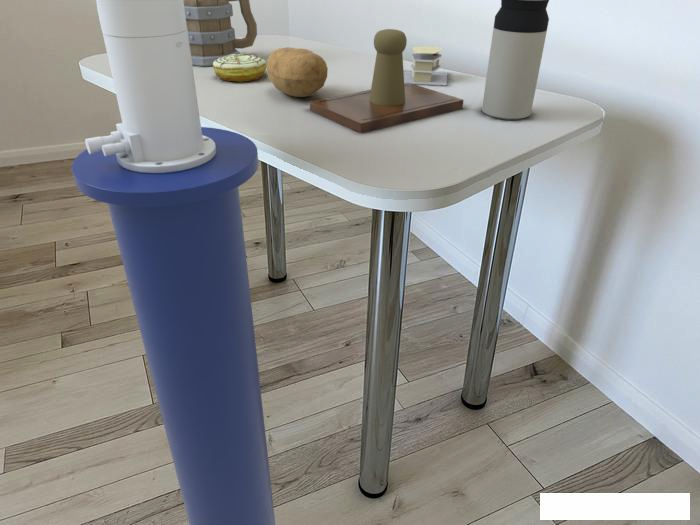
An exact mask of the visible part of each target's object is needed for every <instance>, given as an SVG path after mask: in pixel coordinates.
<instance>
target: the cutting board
mask: <svg viewBox="0 0 700 525" xmlns="http://www.w3.org/2000/svg"><path fill="white" fill-rule="evenodd" d="M404 87H405V103H403V104H400V105H394V106H384V105H377V104H374V103H371V102H370V100H369V99H370V93H371V89H366V90H362V91H357V92H352V93H347V94H341V95H337V96H331V97H326V98H321V99H315V100H310V101H309V111H310V112H313V113H315V114H317V115H319V116H322V117H324V118H326V119H328V120H330V121H333V122H335V123H338V124H340V125H342V126H344V127H347V128H348V129H351V130H353V131H354V132H358V133H360V134H362V133H367V132H371V131H375V130H379V129H383V128H387V127H391V126H397V125H400V124H404V123H408V122H412V121H416V120H420V119H421V120H422V119H424V118H429V117H433V116H436V115H441V114H445V113H450V112H454V111H457V110H463V108H464V100H465V99H463V98H459V97H457V96H453V95H449V94H446V93H443V92H440V91H437V90H433V89H430V88H428V87H424V86H421V85H419V84H412V83H409V82H408V83H404Z"/></svg>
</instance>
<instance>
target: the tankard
mask: <svg viewBox="0 0 700 525" xmlns="http://www.w3.org/2000/svg"><path fill="white" fill-rule="evenodd" d="M183 1H184V9H185V17H186V24H187V30H188V38H189V45H190V52H191V59H192V66H195V67H196V66H197V67H213V62H214V61H215V60H216V59H218V58H221V57H224V56H227V55H231V54H241V52H240V51H239V50H238V49H242V50H243V49H246V48H250V47H253V45H254V43H255V40H256V38H257V36H258V25H257V22H256V18H255V17H254V14H253V12H252V8H251V3H250V0H183ZM231 2H239V9H240V13H241V15H242V18H243V21H244V22H245V25H246V35H245V37H243V38H236V30H235V28H234V27H232V21H231V18H232V17H233V16H234V12H233V4H232V3H231Z"/></svg>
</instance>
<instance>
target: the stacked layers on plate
mask: <svg viewBox="0 0 700 525" xmlns="http://www.w3.org/2000/svg"><path fill="white" fill-rule="evenodd" d="M442 50H443V47H440V46H414V47H412V51H413V53H412V54H411V58H412V64H411V65H410V67H411V70H412V71H408V70H407V71H405V70H404V83H408V82H409V83H412V84H415V85H428V86H447V84H448V72H437V71H438V70H440V69H441V64H440V59H441V58H442V54H440V53H439V52H440V51H442Z"/></svg>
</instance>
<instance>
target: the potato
mask: <svg viewBox="0 0 700 525" xmlns="http://www.w3.org/2000/svg"><path fill="white" fill-rule="evenodd" d="M266 66H267V67H266V74H267V78H268V80H269V81H270V82H271V83H272V85H273V86H274V88H276V89H277V90H278V91H279V92H281V93H283V94H287V95H288V96H291V97H293V98H306V97H310V96H314V95H315V94H316V93H318V91H320V90H321V89H322V88H323V87H324V86H325V83H326V82H327V79H328V72H329V70H328V69H329V68H328V64H327V62H326V61H325V59H324V58H323V57H322V56H320V55H319V54H317V53H315V52H313V51H311V50H309V49H307V48H296V47H281V48H280V47H279V48H277V49H275V50H273V51H272V52H271V53H270V54H269V56H268V57H267V60H266Z"/></svg>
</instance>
